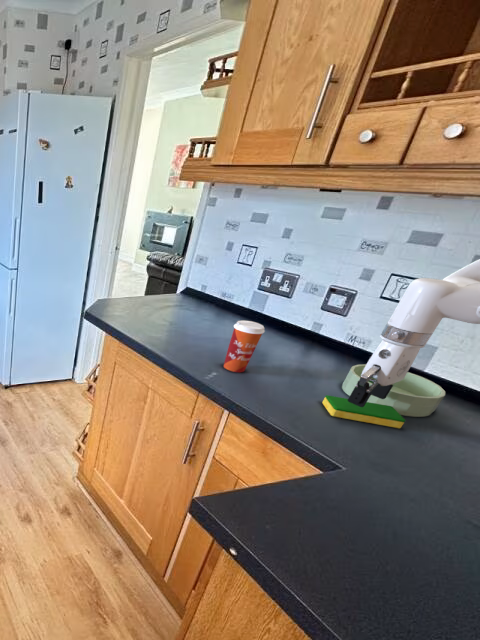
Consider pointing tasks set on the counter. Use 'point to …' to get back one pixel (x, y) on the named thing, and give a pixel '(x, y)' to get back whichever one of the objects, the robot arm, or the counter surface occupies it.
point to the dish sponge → (363, 412)
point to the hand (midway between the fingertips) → (365, 400)
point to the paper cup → (242, 345)
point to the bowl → (402, 393)
